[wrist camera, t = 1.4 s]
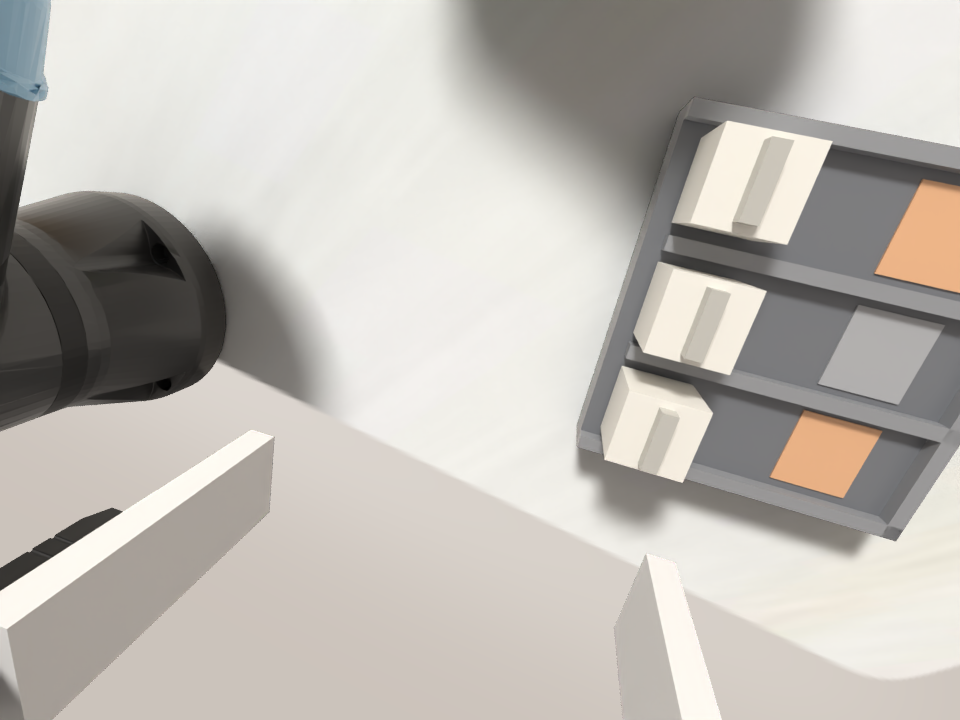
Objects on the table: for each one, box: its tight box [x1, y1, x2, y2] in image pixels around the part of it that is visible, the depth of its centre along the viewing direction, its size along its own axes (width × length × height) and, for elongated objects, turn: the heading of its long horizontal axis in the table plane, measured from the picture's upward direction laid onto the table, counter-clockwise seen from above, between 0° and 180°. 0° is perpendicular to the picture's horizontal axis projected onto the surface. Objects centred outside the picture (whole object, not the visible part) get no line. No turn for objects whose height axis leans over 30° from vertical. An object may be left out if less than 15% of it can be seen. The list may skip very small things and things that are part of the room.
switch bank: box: [577, 97, 960, 541], centre depth 24 cm, size 18×19×3 cm
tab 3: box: [600, 366, 713, 483], centre depth 24 cm, size 4×4×5 cm
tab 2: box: [633, 262, 767, 375], centre depth 22 cm, size 4×4×5 cm
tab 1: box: [672, 121, 833, 245], centre depth 20 cm, size 4×4×5 cm
